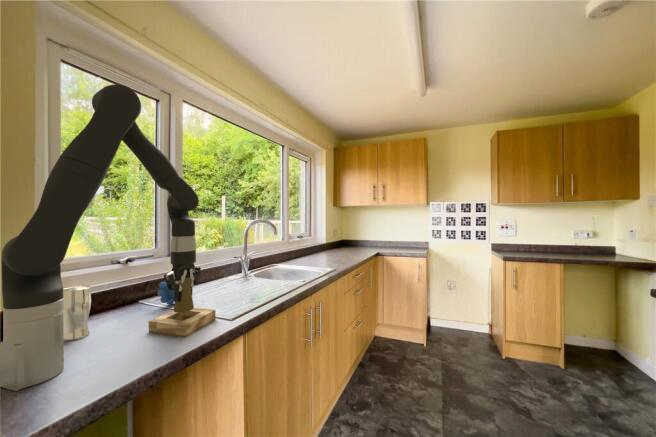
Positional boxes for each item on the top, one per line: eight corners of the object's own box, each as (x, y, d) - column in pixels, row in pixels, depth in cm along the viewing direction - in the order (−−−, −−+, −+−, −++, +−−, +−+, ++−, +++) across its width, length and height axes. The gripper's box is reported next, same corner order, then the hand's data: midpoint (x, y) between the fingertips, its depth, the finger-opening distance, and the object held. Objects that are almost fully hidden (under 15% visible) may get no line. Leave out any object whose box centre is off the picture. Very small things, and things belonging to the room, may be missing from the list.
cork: (185, 313, 85) (184, 279, 84) (169, 311, 86) (168, 278, 86) (197, 306, 91) (197, 275, 90) (182, 305, 92) (182, 274, 92)
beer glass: (61, 336, 81) (61, 287, 81) (91, 329, 85) (91, 284, 85) (58, 344, 75) (57, 292, 75) (90, 337, 80) (90, 288, 80)
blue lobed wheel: (166, 310, 102) (166, 280, 102) (153, 309, 104) (153, 279, 104) (190, 301, 114) (189, 274, 114) (177, 300, 116) (177, 273, 115)
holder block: (184, 337, 80) (184, 325, 80) (148, 332, 83) (148, 321, 83) (215, 319, 93) (215, 309, 93) (183, 316, 97) (183, 306, 97)
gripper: (175, 252, 80) (175, 308, 80) (207, 247, 94) (207, 294, 94) (155, 251, 82) (156, 306, 82) (190, 246, 96) (190, 293, 96)
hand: (183, 299), depth 88 cm, fingers closed on cork, 3 cm apart
